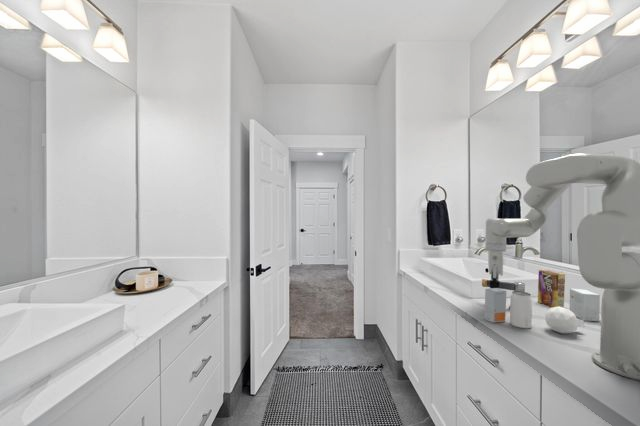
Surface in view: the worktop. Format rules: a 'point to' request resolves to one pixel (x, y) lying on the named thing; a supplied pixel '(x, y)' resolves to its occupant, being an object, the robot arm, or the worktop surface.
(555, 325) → the white egg-shaped lump
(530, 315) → the can
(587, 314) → the small box
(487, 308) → the skincare box
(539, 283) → the candy box
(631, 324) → the robot arm
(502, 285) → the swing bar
